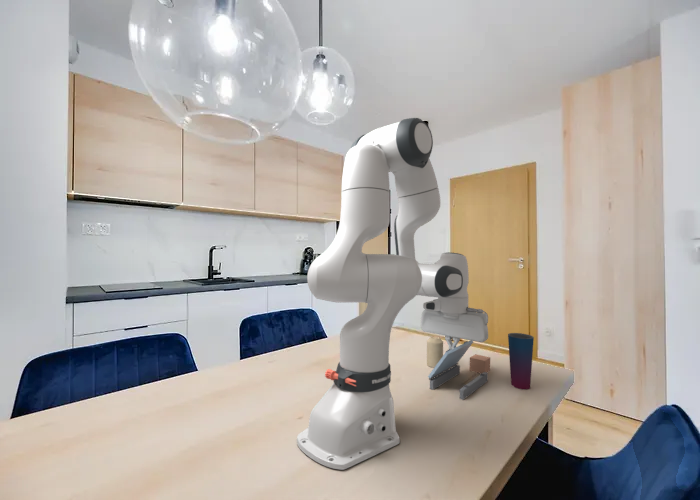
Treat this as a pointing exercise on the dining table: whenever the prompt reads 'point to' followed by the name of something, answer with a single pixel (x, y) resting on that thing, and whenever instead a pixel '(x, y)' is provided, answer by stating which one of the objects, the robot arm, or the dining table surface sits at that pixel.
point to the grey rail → (467, 388)
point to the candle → (434, 351)
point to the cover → (450, 359)
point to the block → (479, 363)
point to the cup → (520, 359)
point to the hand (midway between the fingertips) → (452, 351)
